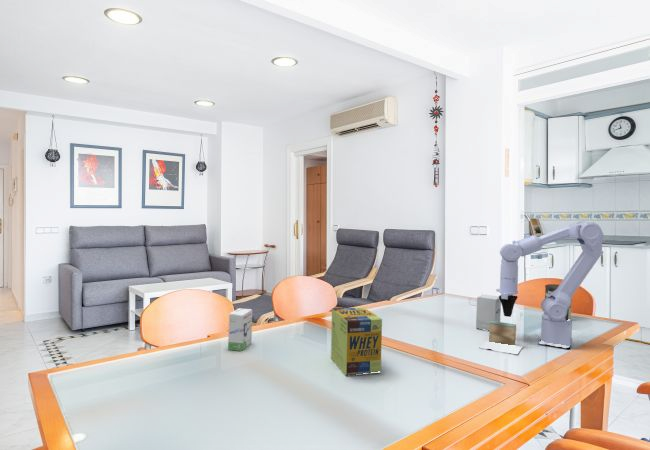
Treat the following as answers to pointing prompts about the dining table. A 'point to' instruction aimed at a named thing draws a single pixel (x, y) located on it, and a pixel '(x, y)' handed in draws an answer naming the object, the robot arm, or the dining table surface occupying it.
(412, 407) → the dining table surface
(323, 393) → the dining table surface
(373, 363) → the protein box
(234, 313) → the ink box
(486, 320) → the supplement box
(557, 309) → the robot arm
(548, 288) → the coffee can
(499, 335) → the slab
